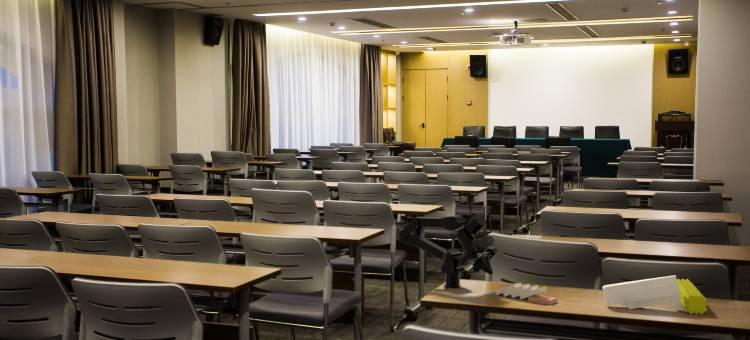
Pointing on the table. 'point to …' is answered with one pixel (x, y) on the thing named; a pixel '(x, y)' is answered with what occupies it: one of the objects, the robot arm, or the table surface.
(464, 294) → the table surface
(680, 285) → the decorative object
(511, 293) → the tile
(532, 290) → the tile
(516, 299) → the grey serrated plate
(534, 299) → the tile end
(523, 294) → the tile
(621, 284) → the shelf bracket
